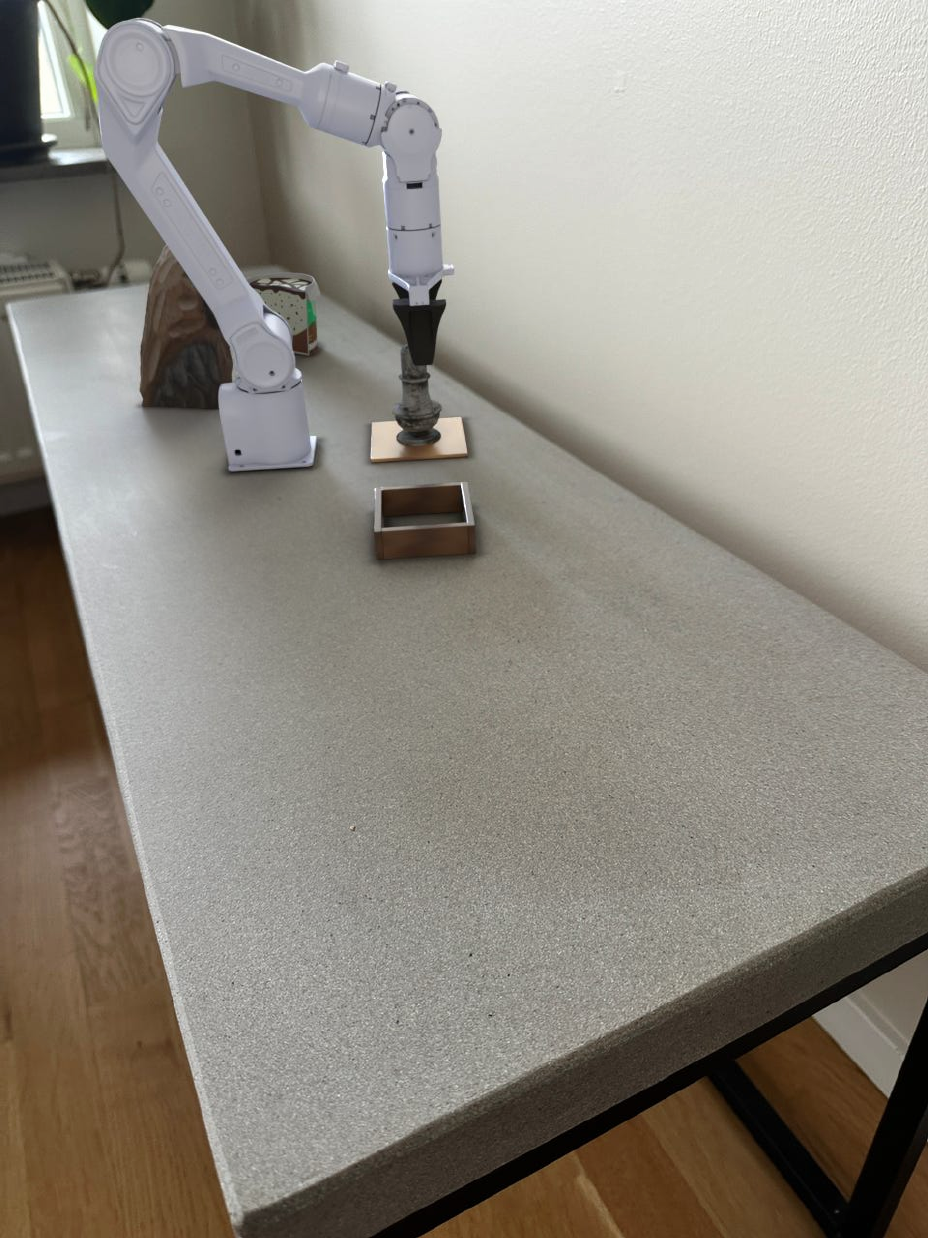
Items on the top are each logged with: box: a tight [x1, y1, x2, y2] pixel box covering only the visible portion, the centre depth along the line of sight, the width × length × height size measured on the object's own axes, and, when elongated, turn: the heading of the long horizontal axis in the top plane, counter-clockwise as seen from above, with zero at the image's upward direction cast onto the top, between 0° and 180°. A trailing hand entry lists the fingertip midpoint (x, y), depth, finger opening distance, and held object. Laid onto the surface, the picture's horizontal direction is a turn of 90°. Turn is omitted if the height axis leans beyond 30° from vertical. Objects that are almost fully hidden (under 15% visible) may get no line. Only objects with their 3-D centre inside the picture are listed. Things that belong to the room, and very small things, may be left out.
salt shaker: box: [391, 343, 443, 446], centre depth 110 cm, size 6×6×12 cm
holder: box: [373, 481, 477, 561], centre depth 94 cm, size 9×9×3 cm
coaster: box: [370, 416, 469, 463], centre depth 113 cm, size 11×11×1 cm
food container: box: [246, 272, 321, 357], centre depth 143 cm, size 12×6×10 cm, turn 58°
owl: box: [139, 244, 234, 410], centre depth 124 cm, size 13×13×20 cm
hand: (422, 353), depth 108 cm, fingers open, 7 cm apart
